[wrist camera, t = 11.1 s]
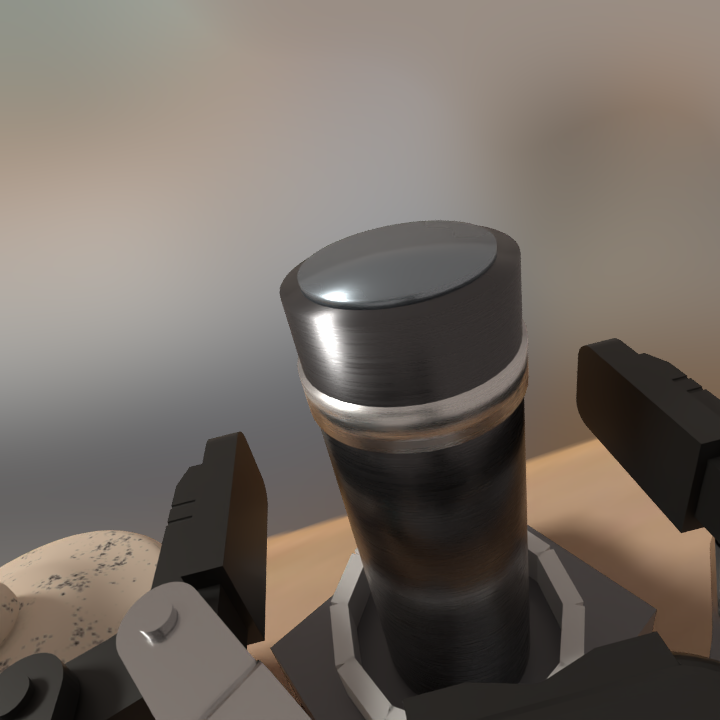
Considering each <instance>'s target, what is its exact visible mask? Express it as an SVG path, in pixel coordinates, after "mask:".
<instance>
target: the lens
mask: <svg viewBox="0 0 720 720" xmlns="http://www.w3.org/2000/svg"><path fill="white" fill-rule="evenodd" d="M520 255H521V254H520V249H519V246H518V244H517V243H516V241H514V240H513V239H512V238H511V237H510V236H508V235H506V234H505V233H503V232H500V231H497V230H495V229H491V228H488V227H483V226H477V225H473V224H470V223H465V222H457V221H418V222H409V223H401V224H395V225H390V226H385V227H381V228H376V229H372V230H368V231H365V232H362V233H358V234H355V235H352V236H349V237H347V238H344V239H342V240H339V241H337V242H335V243H332V244H330V245H328V246H326V247H324V248H323V249H321V250H319V251H318V252H316V253H315V254H313V255H312V256H311V257H309V258H308V259H306V260H304V261H303V262H301V263H300V264H299V265H298V266H296V267H295V268H294V269H293V270H292V271H291V272H290V273H289V274H288V275H287V276H286V277H285V279H284V280H283V282H282V284H281V287H280V297H281V301H282V304H283V307H284V310H285V314H286V317H287V320H288V324H289V326H290V330H291V333H292V336H293V340H294V343H295V346H296V349H297V353H298V356H299V357H298V365H297V367H298V372H299V376H300V379H301V382H302V385H303V388H304V392H305V395H306V398H307V401H308V405H309V407H310V411H311V413H312V415H313V418H314V420H315V421H316V422H317V424H318V425H319V427H320V428H321V431H322V434H323V437H324V440H325V444H326V447H327V450H328V453H329V457H330V460H331V463H332V466H333V470H334V473H335V476H336V479H337V483H338V486H339V489H340V492H341V495H342V499H343V502H344V505H345V509H346V512H347V515H348V518H349V522H350V525H351V528H352V531H353V535H354V538H355V541H356V544H357V548H358V551H359V554H360V557H361V561H362V564H363V567H364V570H365V574H366V577H367V580H368V583H369V587H370V590H371V593H372V596H373V600H374V603H375V606H376V609H377V613H378V616H379V619H380V622H381V626H382V629H383V632H384V635H385V639H386V642H387V645H388V648H389V652H390V655H391V658H392V661H393V663H394V666H395V668H396V670H397V672H398V673H399V675H400V677H401V678H402V680H403V681H404V682H405V684H406V685H407V686H408V687H409V688H410V689H411V690H412V691H413V692H414V693H415V694H417V695H420V694H424V693H428V692H431V691H435V690H439V689H443V688H446V687H450V686H454V685H458V684H461V683H465V682H471V683H509V684H518V683H519V682H520V680H521V678H522V676H523V674H524V672H525V670H526V667H527V664H528V660H529V655H530V613H529V573H528V533H527V493H526V457H525V456H526V453H525V418H524V417H525V416H524V396H525V393H526V390H527V387H528V378H529V368H528V333H527V328H526V325H525V323H524V321H523V319H522V295H521V257H520Z"/></svg>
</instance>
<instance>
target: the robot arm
mask: <svg viewBox="0 0 720 720" xmlns="http://www.w3.org/2000/svg"><path fill="white" fill-rule="evenodd" d="M576 396H577V397H576V399H577V400H576V402H577V408H578V411H579V414H580V416H581V418H582V420H583V422H584V423H585V424H586V426H587V427H588V428H589V429H590V430H591V431H592V433H593V434H594V435H595V436H596V437H597V438H598V439H599V441H600V442H601V443H602V444H603V445H604V446H605V447H606V449H607V450H608V451H609V452H610V453H611V454H612V455H613V456H614V458H615V459H616V460H617V461H618V462H619V463H620V464H621V466H622V467H623V468H624V469H625V470H626V471H627V472H628V473H629V475H630V476H631V477H632V478H633V479H634V480H635V481H636V482H637V484H638V485H639V486H640V487H641V488H642V489H643V490H644V492H645V493H646V494H647V495H648V496H649V497H650V498H651V499H652V501H653V502H654V503H655V504H656V505H657V506H658V507H659V509H660V510H661V511H662V512H663V513H664V514H665V515H666V516H667V518H668V519H669V520H670V521H671V522H672V523H673V524H674V526H675V527H676V528H677V529H678V530H679V531H680V532H681V533H684V532H687V531H691V530H695V529H699V528H703V527H705V528H706V529H707V530H708V531H709V532H710V534H711V535H712V539H711V543H710V566H711V595H712V626H713V628H712V643H711V650H710V657H709V658H707V657H703V656H699V655H695V654H688V653H681V652H671V651H670V650H669V649H668V647H667V646H666V644H665V643H664V641H663V640H662V638H661V637H660V635H659V634H658V632H657V631H656V632H652V633H649V634H645V635H641V636H637V637H634V638H630V639H626V640H622V641H619V642H615V643H611V644H607V645H604V646H600V647H596V648H594V649H592V650H591V651H589V652H588V653H586V654H585V655H583V656H582V657H580V658H578V659H577V660H575V661H574V662H572V663H571V664H569V665H568V666H566V667H565V668H563V669H561V670H560V671H558V672H557V673H555V674H554V675H552V676H551V677H549V678H548V679H546V680H544V681H542V682H540V683H537V684H509V683H471V682H465V683H461V684H458V685H454V686H450V687H446V688H443V689H439V690H435V691H431V692H428V693H424V694H420V695H416V696H413V697H409V698H405V699H403V704H404V709H405V714H406V720H720V399H718V398H717V397H716V396H714V395H713V394H711V393H710V392H709V391H707V390H703V389H702V386H700V385H699V384H698V383H696V382H695V381H694V380H692V379H691V378H690V379H688V378H687V375H685V374H684V373H683V372H681V371H680V370H679V369H677V368H676V367H675V366H673V365H672V364H670V363H669V362H667V361H664V360H661V359H659V358H656V357H653V356H651V355H648V354H645V353H643V354H638V353H636V352H635V351H634V350H632V349H631V348H630V347H628V346H627V345H626V344H624V343H623V342H622V341H621V340H619V339H616V338H613V339H609V340H605V341H601V342H597V343H593V344H589V345H585V346H583V347H581V348H580V350H579V353H578V371H577V395H576ZM267 513H268V502H267V493H266V488H265V484H264V481H263V478H262V476H261V473H260V471H259V469H258V467H257V464H256V462H255V459H254V457H253V455H252V452H251V450H250V448H249V445H248V443H247V441H246V438H245V436H244V434H243V433H242V432H237V433H233V434H228V435H224V436H221V437H216V438H213V439H209V440H208V441H207V444H206V448H205V453H204V459H203V463H202V464H201V465H196V466H192V467H189V469H188V470H187V472H186V473H185V474H184V476H183V477H182V479H181V480H180V482H179V483H178V485H177V486H176V490H175V494H174V498H173V502H172V509H171V510H170V514H169V518H168V526H166V531H165V534H164V538H163V542H162V546H161V550H160V554H159V558H158V562H157V566H156V570H155V575H154V579H153V583H152V587H151V590H150V591H148V592H147V593H146V594H144V595H143V596H142V597H141V598H139V599H138V600H137V601H136V602H135V603H134V604H133V605H132V607H131V608H130V609H129V610H128V612H127V613H126V614H125V616H124V618H123V620H122V621H121V624H120V626H119V628H118V632H117V634H115V635H114V636H112V637H111V638H109V639H108V640H106V641H104V642H102V643H101V644H99V645H97V646H95V647H93V648H92V649H90V650H88V651H86V652H85V653H83V654H81V655H79V656H78V657H76V658H74V659H72V660H70V661H69V662H67V663H65V664H64V663H63V662H62V661H61V660H60V659H59V658H58V657H57V656H55V655H53V654H51V653H37V654H33V655H30V656H27V657H25V658H23V659H21V660H19V661H17V662H15V663H14V664H12V665H11V666H9V667H8V668H7V669H5V670H4V671H3V672H2V673H0V720H312V719H311V718H310V717H309V716H308V715H307V714H306V712H305V711H304V710H303V709H302V708H301V707H300V705H299V704H298V703H297V702H296V701H295V700H294V698H293V697H292V696H291V695H290V694H289V693H288V691H287V690H286V689H285V688H284V687H283V686H282V684H281V683H280V682H279V681H278V680H277V679H276V677H275V676H274V675H273V674H272V673H271V672H270V670H269V669H268V668H267V667H266V666H265V665H264V664H263V663H262V662H261V661H259V660H258V661H256V660H255V659H254V658H253V657H252V656H251V654H250V653H249V652H248V651H247V645H249V644H253V643H257V642H261V641H265V600H266V557H267Z"/></svg>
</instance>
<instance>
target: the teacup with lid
mask: <svg viewBox="0 0 720 720" xmlns="http://www.w3.org/2000/svg"><path fill="white" fill-rule="evenodd" d="M161 546H162V543H159V542H158V541H156V540H154V539H152V538H150V537H147V536H145V535H141V534H137V533H133V532H126V531H115V530H106V531H95V532H89V533H83V534H78V535H73V536H70V537H66V538H63V539H60V540H57V541H54V542H52V543H49V544H46V545H44V546H42V547H39V548H37V549H35V550H32V551H30V552H28V553H26V554H24V555H22V556H20V557H18V558H16V559H15V560H13V561H11V562H9V563H7V564H5V565H4V566H2V567H1V568H0V673H2V672H3V671H4V670H5V669H7V668H8V667H9V666H11V665H12V664H14V663H15V662H17V661H19V660H21V659H23V658H25V657H27V656H30V655H33V654H37V653H51V654H53V655H55V656H57V657H58V658H59V659H60V660H61V661H62V662H63V663H64V664H65V663H67V662H69V661H70V660H72V659H74V658H76V657H78V656H79V655H81V654H83V653H85V652H86V651H88V650H90V649H92V648H93V647H95V646H97V645H99V644H101V643H102V642H104V641H106V640H108V639H109V638H111V637H112V636H114V635H115V634H117V632H118V628H119V626H120V624H121V621H122V620H123V618H124V616H125V614H126V613H127V612H128V610H129V609H130V608H131V607H132V605H133V604H134V603H135V602H136V601H137V600H138V599H139V598H141V597H142V596H143V595H144V594H146V593H147V592H148V591H150V590H151V587H152V583H153V579H154V575H155V570H156V566H157V562H158V558H159V554H160V550H161Z"/></svg>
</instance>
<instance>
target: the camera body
mask: <svg viewBox="0 0 720 720" xmlns="http://www.w3.org/2000/svg"><path fill="white" fill-rule="evenodd" d="M527 533H528V573H529V613H530V655H529V660H528V664H527V667H526V670H525V672H524V674H523V676H522V678H521V680H520V682H519V683H518V684H537V683H540V682H542V681H544V680H546V679H548V678H549V677H551V676H552V675H554V674H555V673H557V672H558V671H560V670H561V669H563V668H565V667H566V666H568V665H569V664H571V663H572V662H574V661H575V660H577V659H578V658H580V657H582V656H583V655H585V654H586V653H588V652H589V651H591V650H592V649H594V648H596V647H600V646H604V645H607V644H611V643H615V642H619V641H622V640H626V639H630V638H634V637H637V636H641V635H645V634H649V633H652V630H653V625H654V621H655V616H656V611H657V609H655V608H654V607H652V606H651V605H649V604H647V603H646V602H644V601H643V600H641V599H640V598H638V597H637V596H635V595H634V594H632V593H631V592H629V591H628V590H626V589H625V588H623V587H622V586H620V585H618V584H617V583H615V582H614V581H612V580H611V579H609V578H608V577H606V576H605V575H603V574H602V573H600V572H599V571H597V570H596V569H594V568H593V567H591V566H589V565H588V564H586V563H585V562H583V561H582V560H580V559H579V558H577V557H576V556H574V555H573V554H571V553H570V552H568V551H567V550H565V549H563V548H562V547H560V546H559V545H557V544H556V543H554V542H553V541H551V540H550V539H548V538H547V537H545V536H544V535H542V534H541V533H539V532H538V531H536V530H534V529H533V528H531V527H530V526H528V525H527ZM355 553H356V554H353V553H352V555H351V557H350V559H349V561H348V564H347V566H346V568H345V571H344V573H343V575H342V577H341V580H340V582H339V584H338V586H337V589H336V591H335V593H334V595H333V596H332V597H330V598H329V599H328V600H327V601H326V602H324V603H323V604H322V605H321V606H320V607H318V608H317V609H316V610H315V611H314V612H313V613H311V614H310V615H309V616H308V617H307V618H305V619H304V620H303V621H302V622H301V623H300V624H298V625H297V626H296V627H295V628H294V629H292V630H291V631H290V632H289V633H288V634H286V635H285V636H284V637H283V638H282V639H281V640H279V641H278V642H277V643H276V644H275V645H273V646H272V647H271V650H272V652H273V654H274V656H275V657H276V659H277V661H278V663H279V665H280V666H281V668H282V670H283V672H284V674H285V675H286V677H287V679H288V681H289V683H290V684H291V686H292V688H293V690H294V692H295V693H296V695H297V697H298V699H299V701H300V702H301V704H302V706H303V707H304V709H305V710H306V712H307V714H308V715H309V717H310V718H311V719H312V720H406V714H405V709H404V704H403V699H405V698H409V697H413V696H416V695H417V694H415V693H414V692H413V691H412V690H411V689H410V688H409V687H408V686H407V685H406V684H405V682H404V681H403V680H402V678H401V677H400V675H399V673H398V672H397V670H396V668H395V666H394V663H393V661H392V658H391V655H390V652H389V648H388V645H387V642H386V639H385V635H384V632H383V629H382V626H381V622H380V619H379V616H378V613H377V609H376V606H375V603H374V600H373V596H372V593H371V590H370V587H369V583H368V580H367V577H366V574H365V570H364V567H363V564H362V561H361V557H360V554H359V551H358V548H357V549H355Z"/></svg>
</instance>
